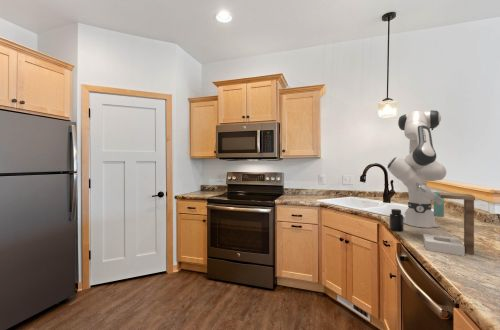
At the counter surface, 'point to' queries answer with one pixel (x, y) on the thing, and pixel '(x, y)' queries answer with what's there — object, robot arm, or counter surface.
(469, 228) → the brown wooden overhang stand
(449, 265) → the counter surface
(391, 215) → the supplement bottle
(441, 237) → the socket
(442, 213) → the peg
